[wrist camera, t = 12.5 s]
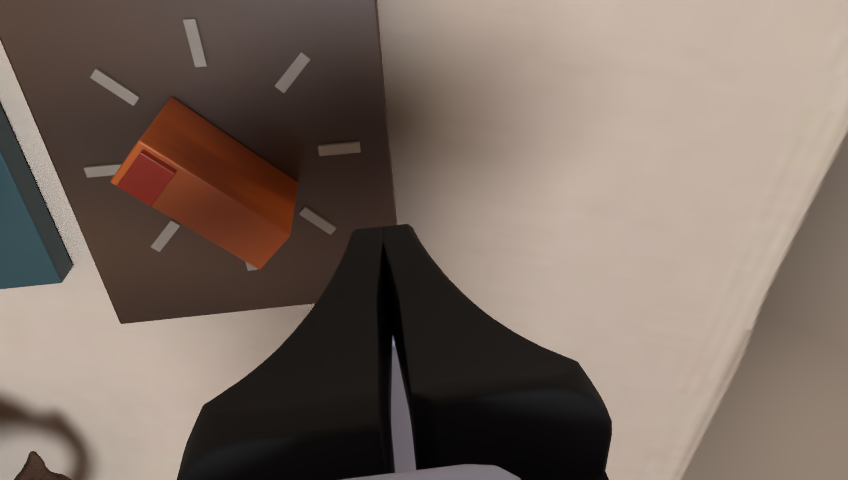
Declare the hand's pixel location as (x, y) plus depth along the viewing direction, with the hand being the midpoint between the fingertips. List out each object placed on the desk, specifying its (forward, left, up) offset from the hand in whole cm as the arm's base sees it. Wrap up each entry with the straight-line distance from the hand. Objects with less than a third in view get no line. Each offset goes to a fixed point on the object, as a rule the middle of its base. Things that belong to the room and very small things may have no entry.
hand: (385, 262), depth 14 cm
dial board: (0, +5, -10) cm, 12 cm away
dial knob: (0, +5, -7) cm, 9 cm away
